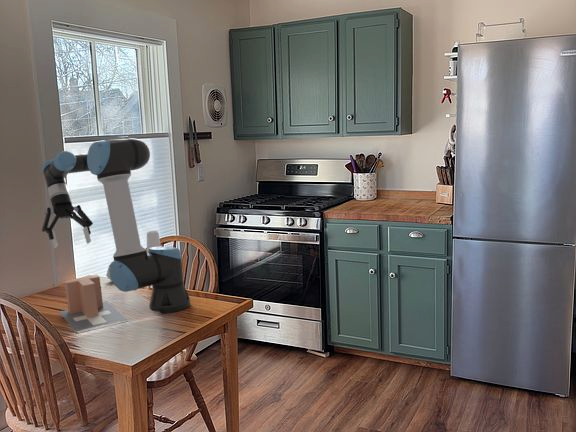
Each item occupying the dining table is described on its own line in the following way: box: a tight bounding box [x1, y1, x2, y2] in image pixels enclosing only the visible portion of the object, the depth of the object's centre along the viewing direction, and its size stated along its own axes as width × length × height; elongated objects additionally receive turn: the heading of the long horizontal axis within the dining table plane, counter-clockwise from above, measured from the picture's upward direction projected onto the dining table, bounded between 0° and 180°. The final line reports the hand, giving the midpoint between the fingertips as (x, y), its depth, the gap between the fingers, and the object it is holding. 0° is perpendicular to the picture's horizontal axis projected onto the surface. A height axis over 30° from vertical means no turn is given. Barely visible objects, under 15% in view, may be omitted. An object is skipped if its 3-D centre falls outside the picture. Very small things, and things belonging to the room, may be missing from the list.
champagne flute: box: [146, 230, 162, 289], centre depth 249 cm, size 7×7×24 cm
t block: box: [64, 274, 104, 318], centre depth 215 cm, size 13×12×12 cm
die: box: [105, 264, 113, 283], centre depth 263 cm, size 8×9×10 cm
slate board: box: [58, 301, 128, 335], centre depth 212 cm, size 28×18×1 cm, turn 32°
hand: (72, 244), depth 233 cm, fingers open, 13 cm apart
